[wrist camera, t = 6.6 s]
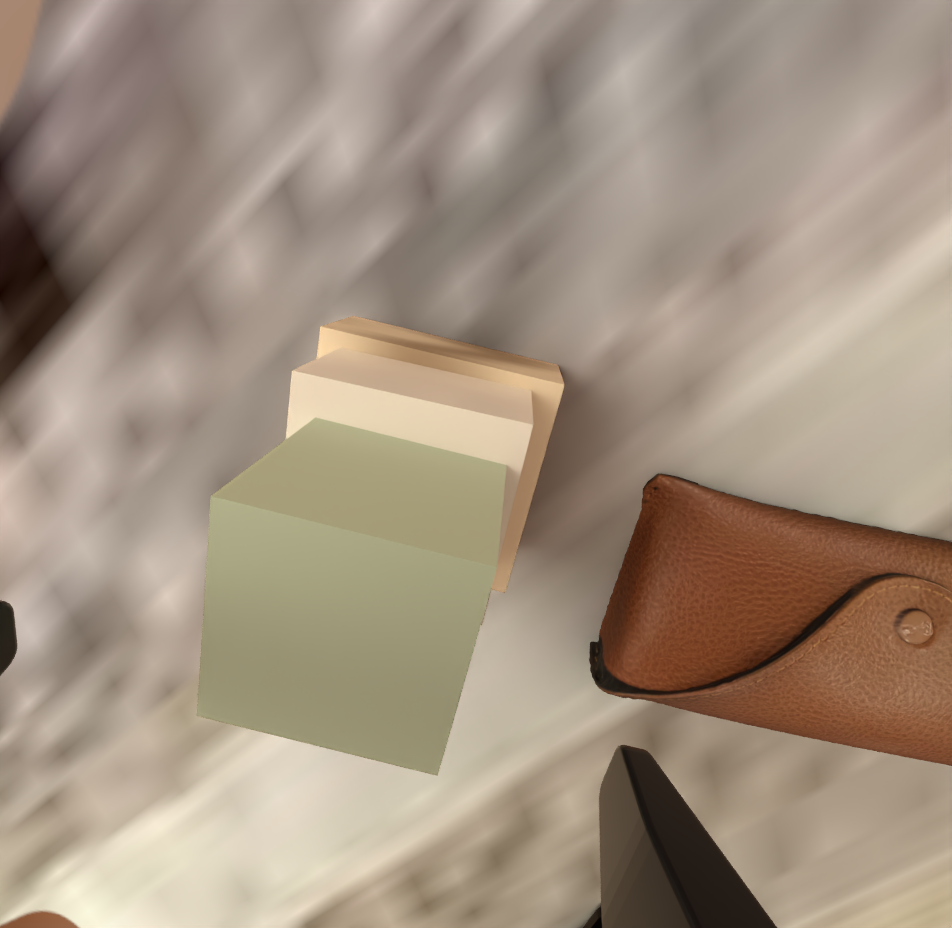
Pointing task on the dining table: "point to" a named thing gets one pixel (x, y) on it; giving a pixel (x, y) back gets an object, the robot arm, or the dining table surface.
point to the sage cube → (349, 592)
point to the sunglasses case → (783, 622)
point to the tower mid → (418, 409)
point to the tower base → (475, 364)
